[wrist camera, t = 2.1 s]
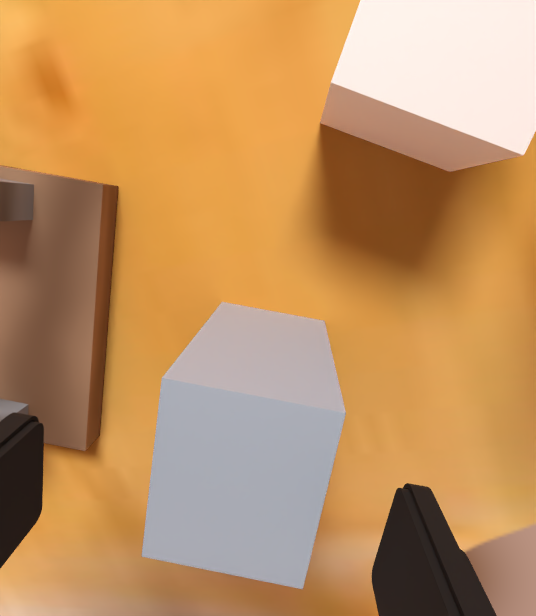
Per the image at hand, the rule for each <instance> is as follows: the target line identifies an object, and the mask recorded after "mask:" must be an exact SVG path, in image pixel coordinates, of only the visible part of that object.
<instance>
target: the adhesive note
mask: <svg viewBox="0 0 536 616" xmlns="http://www.w3.org/2000/svg"><path fill="white" fill-rule="evenodd" d="M320 123H321V124H324V125H326V126H329V127H332V128H334V129H337V130H340V131H342V132H345V133H348V134H350V135H353V136H356V137H358V138H361V139H364V140H366V141H369V142H372V143H374V144H377V145H380V146H382V147H385V148H388V149H390V150H393V151H396V152H398V153H401V154H404V155H406V156H409V157H412V158H414V159H417V160H420V161H422V162H425V163H428V164H430V165H433V166H435V167H438V168H441V169H443V170H446V171H449V172H452V171H456V170H460V169H465V168H469V167H474V166H478V165H483V164H487V163H492V162H496V161H500V160H505V159H509V158H514V157H518V156H523V155H524V153H525V151H526V149H527V147H528V145H529V143H530V141H531V139H532V137H533V135H534V133H535V131H536V0H361V1H360V3H359V6H358V9H357V12H356V15H355V17H354V20H353V23H352V26H351V28H350V31H349V34H348V37H347V40H346V42H345V45H344V48H343V51H342V53H341V56H340V59H339V62H338V65H337V67H336V70H335V73H334V76H333V79H332V81H331V85H330V88H329V92H328V96H327V99H326V103H325V107H324V110H323V114H322V118H321V121H320Z"/></svg>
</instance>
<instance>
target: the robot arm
mask: <svg viewBox="0 0 536 616" xmlns="http://www.w3.org/2000/svg"><path fill="white" fill-rule="evenodd" d="M43 446H44V426H43V424H42V423H39V420H38V418H37V417H36V416H32V415H27V414H21V413H16V412H14V413H11V414H9V415H8V416H6V417H5V418H4V419H3V420H1V421H0V568H1V567H2V566H3V564H4V563H5V562H6V561H7V559H8V558H9V557H10V555H11V554H12V553H13V552H14V550H15V549H16V548H17V546H18V545H19V544H20V543H21V541H22V540H23V539H24V537H25V536H26V535H27V534H28V532H29V531H30V530H31V528H32V527H33V526H34V525H35V523H36V522H37V520H38V518H39V516H40V514H41V510H42V491H43ZM372 585H373V590H374V594H375V599H376V604H377V608H378V613H379V616H496V613H495V611H494V609H493V608H492V606H491V603H490V601H489V599H488V597H487V595H486V593H485V591H484V589H483V587H482V585H481V583H480V581H479V579H478V577H477V575H476V573H475V571H474V569H473V567H472V565H471V563H470V561H469V559H468V557H467V556H466V554H465V552H463V551H462V550H461V549H459V546H458V544H457V542H456V540H455V538H454V536H453V534H452V532H451V530H450V528H449V526H448V524H447V521H446V519H445V517H444V515H443V513H442V511H441V509H440V507H439V505H438V503H437V501H436V499H435V497H434V494H433V492H432V491H431V489H430V488H429V487H425V486H419V485H414V484H408V483H407V484H405V485H404V487H403V488H398V489H397V490H396V493H395V496H394V499H393V503H392V506H391V509H390V513H389V516H388V519H387V522H386V526H385V529H384V532H383V535H382V539H381V542H380V545H379V548H378V552H377V555H376V558H375V562H374V565H373V569H372Z"/></svg>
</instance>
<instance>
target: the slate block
mask: <svg viewBox="0 0 536 616" xmlns="http://www.w3.org/2000/svg"><path fill="white" fill-rule="evenodd" d="M345 414H346V412H345V407H344V403H343V399H342V394H341V390H340V386H339V382H338V377H337V373H336V369H335V364H334V360H333V356H332V351H331V347H330V343H329V338H328V334H327V330H326V326H325V321H323V320H317V319H312V318H306V317H301V316H296V315H290V314H285V313H279V312H274V311H268V310H263V309H258V308H252V307H247V306H241V305H236V304H231V303H225V302H222V303H221V304H220V305H219V307H218V308H217V309H216V310H215V312H214V313H213V314H212V316H211V317H210V318H209V319H208V321H207V322H206V323H205V324H204V326H203V327H202V328H201V329H200V331H199V332H198V333H197V334H196V336H195V337H194V338H193V339H192V341H191V342H190V343H189V344H188V346H187V347H186V348H185V350H184V351H183V352H182V353H181V355H180V356H179V357H178V358H177V360H176V361H175V362H174V363H173V365H172V366H171V367H170V368H169V370H168V371H167V372H166V373H165V375H164V376H163V377H162V382H161V391H160V400H159V408H158V417H157V426H156V435H155V443H154V452H153V461H152V470H151V478H150V487H149V496H148V505H147V513H146V522H145V531H144V540H143V548H142V557H146V558H151V559H156V560H161V561H166V562H171V563H176V564H181V565H186V566H191V567H196V568H201V569H205V570H210V571H215V572H220V573H225V574H230V575H235V576H240V577H245V578H250V579H255V580H260V581H265V582H269V583H274V584H279V585H284V586H289V587H294V588H299V589H303V586H304V582H305V578H306V574H307V570H308V566H309V561H310V557H311V553H312V549H313V545H314V541H315V537H316V533H317V529H318V525H319V521H320V516H321V512H322V508H323V504H324V500H325V496H326V492H327V488H328V484H329V480H330V476H331V471H332V467H333V463H334V459H335V455H336V451H337V447H338V443H339V439H340V435H341V431H342V426H343V422H344V418H345Z"/></svg>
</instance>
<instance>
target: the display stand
mask: <svg viewBox="0 0 536 616" xmlns="http://www.w3.org/2000/svg"><path fill="white" fill-rule="evenodd" d="M117 195H118V186H113V185H108V184H102V183H97V182H91V181H85V180H80V179H74V178H69V177H63V176H57V175H52V174H46V173H41V172H35V171H29V170H24V169H18V168H13V167H7V166H1V165H0V421H1V420H3V419H4V418H5V417H6V416H8V415H9V414H11V413H14V412H16V413H21V414H27V415H32V416H36V417H37V418H38V420H39V423H42V424H43V426H44V443H47V444H52V445H57V446H62V447H67V448H72V449H77V450H82V451H86V450H87V449H88V448H89V446H90V445H91V444H92V443H93V442H94V441H95V440H96V438H97V437H98V436H99V435H100V422H101V409H102V396H103V382H104V369H105V356H106V342H107V329H108V316H109V302H110V289H111V275H112V262H113V249H114V235H115V222H116V209H117Z"/></svg>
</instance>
